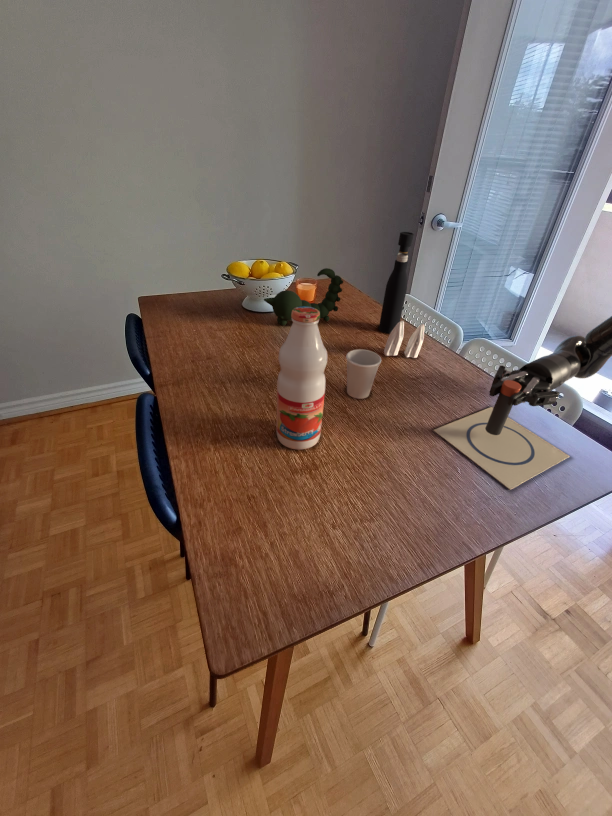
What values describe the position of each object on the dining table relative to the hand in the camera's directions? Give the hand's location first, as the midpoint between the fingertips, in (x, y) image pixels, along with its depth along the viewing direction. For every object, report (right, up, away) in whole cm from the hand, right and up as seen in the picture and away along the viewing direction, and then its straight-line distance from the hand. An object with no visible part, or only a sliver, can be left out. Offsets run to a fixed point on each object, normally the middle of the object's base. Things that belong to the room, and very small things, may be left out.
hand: (501, 396), depth 80 cm
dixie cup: (-26, +1, +20) cm, 33 cm away
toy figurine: (-41, +26, +52) cm, 71 cm away
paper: (+3, -10, +7) cm, 12 cm away
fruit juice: (-41, -8, +5) cm, 42 cm away
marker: (+2, -7, +7) cm, 10 cm away
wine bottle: (-12, +24, +52) cm, 58 cm away
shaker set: (-12, +13, +37) cm, 41 cm away
